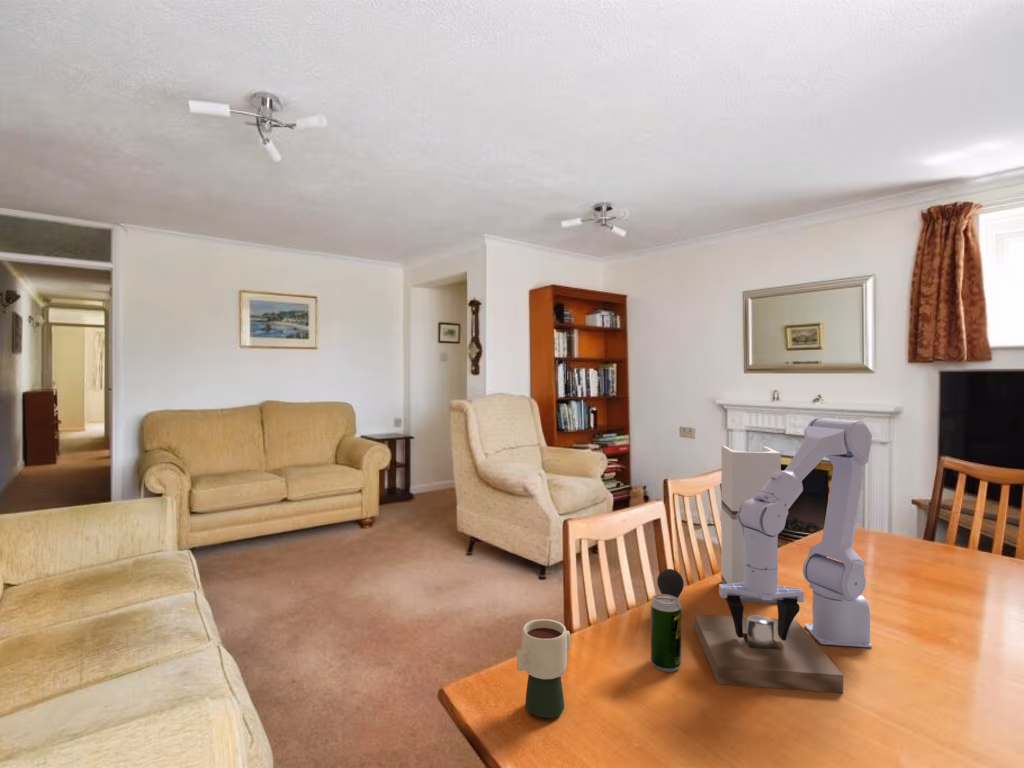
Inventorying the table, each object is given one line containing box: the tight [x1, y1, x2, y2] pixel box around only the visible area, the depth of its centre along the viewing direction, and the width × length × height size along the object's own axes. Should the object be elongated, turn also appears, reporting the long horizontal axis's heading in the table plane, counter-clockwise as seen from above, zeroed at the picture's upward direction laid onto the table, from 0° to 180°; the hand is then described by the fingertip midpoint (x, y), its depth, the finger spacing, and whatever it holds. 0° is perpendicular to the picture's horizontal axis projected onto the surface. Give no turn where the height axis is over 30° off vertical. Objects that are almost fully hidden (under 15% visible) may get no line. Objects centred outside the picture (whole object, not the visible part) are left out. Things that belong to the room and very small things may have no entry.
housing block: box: [693, 613, 844, 694], centre depth 99 cm, size 20×20×3 cm
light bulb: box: [656, 568, 685, 599], centre depth 117 cm, size 6×6×10 cm
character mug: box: [516, 618, 571, 719], centre depth 84 cm, size 11×7×13 cm, turn 127°
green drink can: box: [650, 593, 682, 673], centre depth 97 cm, size 5×5×12 cm
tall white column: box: [720, 445, 782, 604], centre depth 129 cm, size 11×11×35 cm
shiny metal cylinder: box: [746, 614, 774, 649], centre depth 99 cm, size 4×4×7 cm
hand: (760, 636), depth 99 cm, fingers open, 7 cm apart
